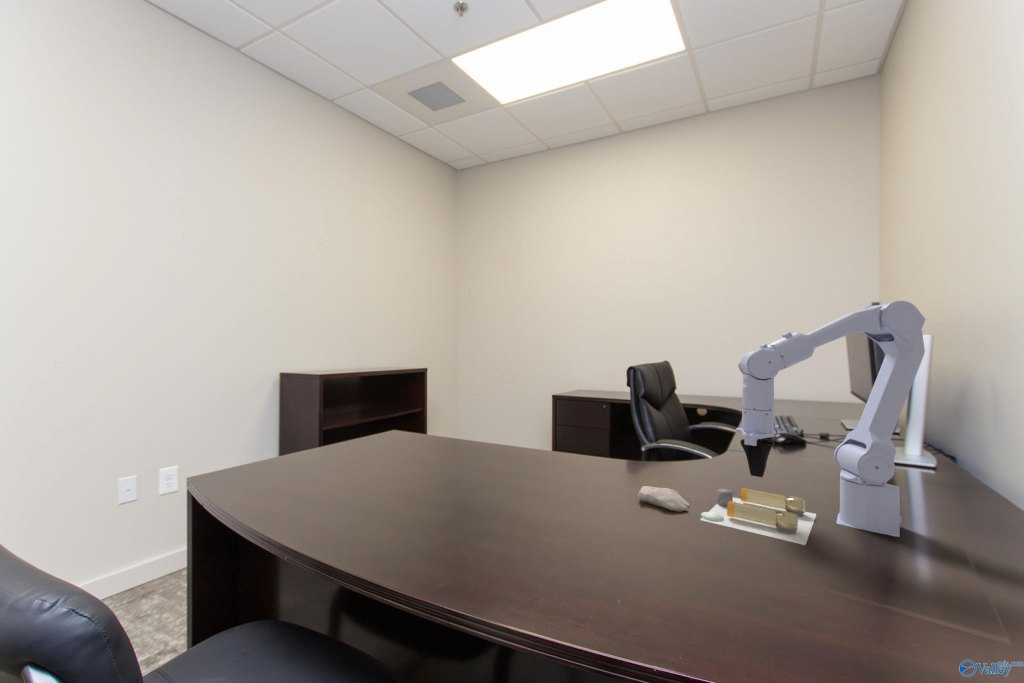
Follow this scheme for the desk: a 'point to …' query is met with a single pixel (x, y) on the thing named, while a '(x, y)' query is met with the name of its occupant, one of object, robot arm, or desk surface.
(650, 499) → the decorative stone
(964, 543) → the desk surface
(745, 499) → the far capped tube
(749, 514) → the translucent tan bar
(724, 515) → the levelling base
